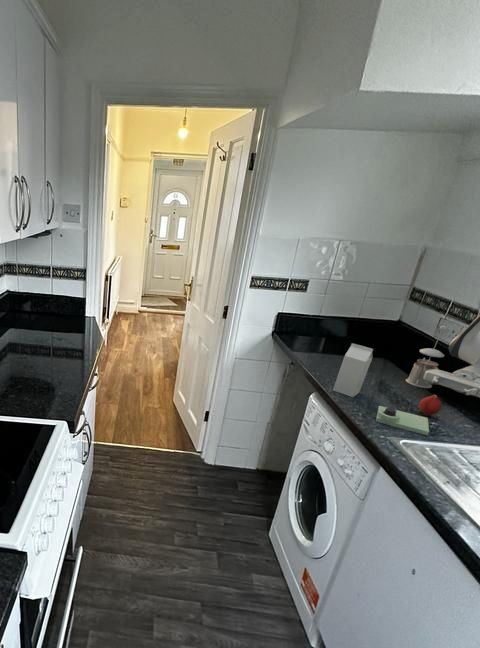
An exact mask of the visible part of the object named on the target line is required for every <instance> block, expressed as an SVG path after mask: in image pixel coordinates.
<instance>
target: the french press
mask: <svg viewBox="0 0 480 648" xmlns="http://www.w3.org/2000/svg"><path fill="white" fill-rule="evenodd" d="M439 329H441V331H440V333H439V335H438V338H437V340H436V342H435V344H434V347H433V348H430V347H429V348H428V347H427V348H421V349H419V353H420V354H421V355H423V356H427V357H428V359H426V357H423V358H418V359H417V360H416V362H414V364H413V366H412V369H411V371H410V373H409V376H408V378H406V379H405V382H406V383H408V384H410V385H412V386H415V387H419V388H424V389H431V388H432V387H433V384H431V383H432V382H429V381H426V380H424V379H423V377H424V374H425V372H426V371H428V370H433V369H437V370H439V366H440V365H439V363H438V362H436V361H432V360H431V358H444V357H445V354H444V353H443V352H441V351H440V350H438V349H436V346H437V344H438V342H439V339H440V337H441V335H442V332H443V330H446V329H447V326H446V325H440V326H439Z"/></svg>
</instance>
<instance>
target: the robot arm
mask: <svg viewBox="0 0 480 648" xmlns="http://www.w3.org/2000/svg"><path fill="white" fill-rule="evenodd" d="M479 334H480V314H479V315H478V316H477V317H476V318H474V320H473V321H472V322H471V323H470V324H468V326H467V327H466V328H465V329H464V330H463V331H462V332H461V333H460V334H458V335H456V337H454V338H453V339H452V340H451V341H450V342H449V345H448V352H449V354H450V356H451V357H454V358H457V359H459V360H462V361H464V362H466V363H468V364H470V365H468V366H465V367H462V368H460V369H457V370H455V371H453V372H448V371H446V370H445V371H444V370H443V369H442V370H441V369H438V370H437V369H433V370H428V371H426V372H425V374H424V377H423V379H424V380H426V381H429V382H432V383H431V385H434V386H438V385H439V386H442V387H445V388H448V389H450V390H453V391H455V392H457V393H460V394H462V395H465V396H473V397H476V398H479V399H480V335H479Z"/></svg>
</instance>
